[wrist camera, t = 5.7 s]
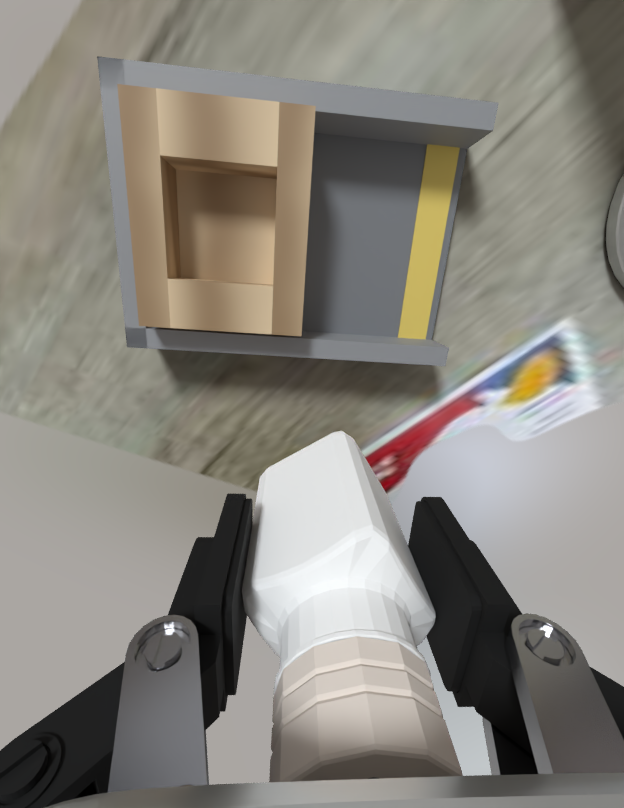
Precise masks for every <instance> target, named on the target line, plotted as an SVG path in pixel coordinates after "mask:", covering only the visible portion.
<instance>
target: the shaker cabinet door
mask: <svg viewBox="0 0 624 808" xmlns="http://www.w3.org/2000/svg"><path fill="white" fill-rule="evenodd" d="M117 87H118V98H119V109H120V120H121V131H122V142H123V154H124V165H125V176H126V187H127V198H128V209H129V220H130V231H131V243H132V254H133V265H134V276H135V287H136V298H137V309H138V321H139V326H147V327H162V328H178V329H194V330H209V331H225V332H241V333H256V334H272V335H287V336H301V335H302V319H303V303H304V287H305V271H306V255H307V238H308V222H309V206H310V190H311V174H312V158H313V141H314V125H315V109H316V106H312V105H303V104H294V103H285V102H276V101H267V100H258V99H249V98H240V97H231V96H222V95H213V94H203V93H194V92H185V91H176V90H167V89H158V88H149V87H140V86H131V85H122V84H117Z"/></svg>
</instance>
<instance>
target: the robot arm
mask: <svg viewBox="0 0 624 808" xmlns="http://www.w3.org/2000/svg"><path fill="white" fill-rule="evenodd" d="M606 247H607V253H608V259H609V262H610V265H611V267H612V270H613V272H614V275H615V277H616V278H617V279H618V281H619V282H620V284H621V285H622V286H623V288H624V174H623V176H622V178H621V180H620V182H619V183H618V185H617V188H616V191H615V194H614V197H613V199H612V202H611V205H610V210H609V215H608V220H607V225H606ZM252 526H253V525H252V499H246V495H245V494H227V497H226V500H225V503H224V507H223V510H222V513H221V516H220V520H219V523H218V526H217V530H216V533H215V536H214V537H212V538H211V537H206V538H205V537H198V538H197V539H196V541H195V543H194V546H193V549H192V551H191V554H190V556H189V559H188V562H187V565H186V568H185V570H184V573H183V575H182V578H181V581H180V584H179V586H178V589H177V592H176V594H175V597H174V600H173V602H172V605H171V608H170V611H169V614H168V616H163V617H160V618H157V619H155V620H153V621H151V622H149V623H148V624H146V625H145V626H143V628H141V629H140V630H139V631H138V632H137V633H136V634H135V635H134V637H133V639H132V640H131V642H130V643H129V646H128V649H127V653H126V658H125V662H124V663H122V664H121V665H120V666H118V667H117V668H115V669H114V670H112V671H111V672H110V673H108V674H107V675H105V676H104V677H102V678H101V679H100V680H98V681H97V682H95V683H94V684H93V685H91V686H89V687H88V688H87V689H85V690H84V691H82V692H81V693H79V694H78V695H77V696H75V697H74V698H72V699H71V700H70V701H68V702H67V703H65V704H64V705H62V706H61V707H60V708H58V709H57V710H55V711H54V712H52V713H51V714H49V715H48V716H47V717H45V718H44V719H42V720H41V721H40V722H38V723H37V724H35V725H34V726H32V727H31V728H29V729H28V730H27V731H25V732H24V733H22V734H21V735H19V736H18V737H17V738H15V739H14V740H13V741H11V742H10V743H9V744H8V745H6V746H5V747H4V748H3V749H2V750H1V751H0V808H624V687H623V686H621V685H620V684H618V683H616V682H615V681H613V680H611V679H610V678H608V677H606V676H605V675H603V674H601V673H600V672H598V671H596V670H594V669H593V668H591V667H589V665H588V663H587V660H586V658H585V656H584V654H583V652H582V650H581V648H580V647H579V645H578V643H577V642H576V640H575V639H574V638H573V637H572V636H571V635H570V634H569V633H568V632H567V631H566V630H564V629H563V628H562V627H561V626H559V625H558V624H556V623H555V622H553V621H551V620H549V619H547V618H545V617H542V616H538V615H535V614H522V613H521V612H520V610H519V609H518V607H517V606H516V604H515V603H514V601H513V599H512V598H511V596H510V595H509V594H508V592H507V591H506V589H505V587H504V586H503V585H502V583H501V581H500V580H499V579H498V577H497V575H496V574H495V572H494V571H493V569H492V568H491V566H490V565H489V563H488V562H487V560H486V559H485V557H484V556H483V554H482V553H481V551H480V550H479V549H478V547H477V545H476V544H475V543H474V542H473V541H471V540H469V538H468V537H467V535H466V534H465V532H464V531H463V529H462V527H461V526H460V524H459V523H458V521H457V520H456V518H455V517H454V515H453V514H452V512H451V511H450V509H449V508H448V506H447V504H446V503H445V501H444V500H443V499H442V498H441V497H423V498H422V499H421V501H418V502H416V505H415V511H414V516H413V522H412V527H411V533H410V539H409V545H408V547H409V550H410V552H411V554H412V557H413V559H414V562H415V564H416V566H417V569H418V571H419V574H420V576H421V579H422V581H423V583H424V586H425V588H426V591H427V593H428V595H429V598H430V600H431V603H432V605H433V607H434V610H435V614H436V618H435V623H434V625H433V627H432V628H431V630H430V631H429V633H428V634H427V639H428V642H429V645H430V647H431V650H432V653H433V656H434V658H435V661H436V664H437V667H438V670H439V672H440V675H441V678H442V680H443V683H444V686H445V688H446V689H447V691H452V692H453V694H454V697H455V700H456V702H457V705H458V707H472V706H473V707H475V710H476V712H477V713H479V714H480V715H481V716H482V717H483V726H484V732H485V737H486V743H487V749H488V756H489V761H490V767H491V773H492V775H482V776H447V777H414V778H383V779H351V780H322V781H296V782H269V783H244V784H217V785H209V776H208V760H207V744H206V729H207V728H208V727H209V726H210V725H211V724H212V723H213V722H214V721H215V720H216V719H217V718H218V717H219V714H220V711H225V709H226V703H227V696H228V695H235V694H236V689H237V682H238V675H239V668H240V660H241V653H242V647H243V646H242V645H243V639H244V632H245V625H246V618H247V614H246V613H245V609H244V603H243V596H242V586H243V580H244V574H245V568H246V562H247V556H248V550H249V544H250V538H251V532H252Z"/></svg>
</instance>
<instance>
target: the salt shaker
mask: <svg viewBox="0 0 624 808" xmlns="http://www.w3.org/2000/svg"><path fill="white" fill-rule="evenodd" d="M252 525H253V526H252V532H251V538H250V544H249V550H248V556H247V562H246V568H245V574H244V580H243V586H242V596H243V603H244V609H245V613H246V614H247V616H248V617H249V619H250V620H251V622H252V623H253V625H254V626H255V627H256V629H257V631H258V633H259V634H260V636H261V637H262V638H263V639H264V640H265V642H266V643H267V644H268V645H269V647H270V648H271V649H272V650H273V651H274V653H275V654H276V655H277V656H278V657H279V658H280V670H279V672H278V673H277V675H276V680H275V687H274V698H273V699H274V700H273V723H274V725H273V728H272V741H271V750H272V752H273V753H272V756H271V760H270V781H269V782H296V781H322V780H351V779H383V778H414V777H447V776H463V775H462V771H461V767H460V765H459V762H458V759H457V756H456V753H455V750H454V747H453V744H452V741H451V738H450V735H449V732H448V729H447V726H446V723H445V720H444V719H443V715H442V711H441V708H440V705H439V702H438V699H437V696H436V693H435V692H434V688H433V684H432V681H431V678H430V671H429V668H428V666H427V664H426V661H425V659H424V657H423V655H422V654H421V653H420V652H419V651H418V650H417V647H416V646H417V645H419V644H420V643H422V641H423V640H424V639H425V637H426V636H427V634H428V633H429V631H430V630H431V628H432V627H433V625H434V623H435V618H436V614H435V610H434V607H433V605H432V603H431V600H430V598H429V595H428V593H427V591H426V588H425V586H424V583H423V581H422V579H421V576H420V574H419V571H418V569H417V566H416V564H415V562H414V559H413V557H412V554H411V552H410V550H409V547H408V545H407V542H406V540H405V538H404V535H403V533H402V530H401V528H400V526H399V523H398V521H397V518H396V516H395V514H394V511H393V508H392V506H391V504H390V501H389V499H388V496H387V494H386V492H385V490H384V489H383V487H382V485H381V484H380V482H379V480H378V479H377V477H376V475H375V474H374V472H373V470H372V469H371V467H370V465H369V464H368V462H367V460H366V459H365V457H364V455H363V454H362V452H361V450H360V449H359V447H358V445H357V444H356V442H355V440H354V439H353V438H352V437H350V436H349V435H348V434H346V433H345V432H343V431H338V432H333V433H331V434H329V435H327V436H326V437H324V438H322V439H320V440H318V441H316V442H315V443H313V444H311V445H309V446H307V447H305V448H303V449H302V450H300V451H298V452H296V453H294V454H292V455H290V456H289V457H287V458H285V459H283V460H281V461H279V462H278V463H276V464H274V465H272V466H270V467H269V468H267V469H266V471H265V472H264V473H263V474H262V475H261V477H260V481H259V487H258V492H257V499H256V504H255V511H254V517H253V522H252Z"/></svg>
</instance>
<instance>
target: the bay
mask: <svg viewBox="0 0 624 808" xmlns="http://www.w3.org/2000/svg"><path fill="white" fill-rule="evenodd" d="M97 58H98V68H99V78H100V88H101V97H102V107H103V117H104V126H105V136H106V146H107V156H108V165H109V175H110V185H111V195H112V204H113V214H114V224H115V233H116V243H117V253H118V263H119V272H120V282H121V292H122V302H123V311H124V321H125V331H126V340H127V347H134V348H151V349H168V350H184V351H201V352H218V353H235V354H251V355H268V356H285V357H302V358H318V359H335V360H352V361H369V362H385V363H402V364H419V365H436V366H445V365H446V360H447V355H448V350H449V348H448V347H446V346H444V345H442V344H440V343H438V342H436V341H434V340H432V336H433V331H434V325H435V320H436V314H437V309H438V304H439V298H440V293H441V287H442V282H443V277H444V271H445V266H446V260H447V255H448V250H449V244H450V239H451V233H452V228H453V223H454V217H455V212H456V206H457V201H458V195H459V190H460V185H461V179H462V174H463V168H464V163H465V158H466V152H467V149H468V148H469V147H471V146H472V145H473V144H475V143H476V142H478V141H479V140H480V139H482V138H483V137H485V136H486V135H487V134H489V133H490V132H492V131H493V128H494V123H495V118H496V113H497V108H498V103H496V102H487V101H478V100H470V99H461V98H452V97H444V96H435V95H426V94H418V93H409V92H401V91H392V90H383V89H375V88H366V87H357V86H349V85H340V84H331V83H323V82H314V81H306V80H297V79H288V78H280V77H271V76H262V75H254V74H245V73H236V72H228V71H219V70H211V69H202V68H193V67H185V66H176V65H167V64H159V63H150V62H141V61H133V60H124V59H115V58H107V57H98V56H97ZM117 84H122V85H131V86H140V87H149V88H158V89H167V90H176V91H185V92H194V93H203V94H213V95H222V96H231V97H240V98H249V99H258V100H267V101H276V102H285V103H294V104H303V105H312V106H316V109H315V125H314V141H313V158H312V174H311V190H310V206H309V222H308V238H307V255H306V271H305V287H304V303H303V319H302V335H301V336H287V335H272V334H256V333H241V332H225V331H209V330H194V329H178V328H162V327H147V326H139V321H138V309H137V298H136V287H135V276H134V265H133V254H132V243H131V231H130V220H129V209H128V198H127V187H126V176H125V165H124V154H123V142H122V131H121V120H120V109H119V98H118V87H117Z"/></svg>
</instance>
